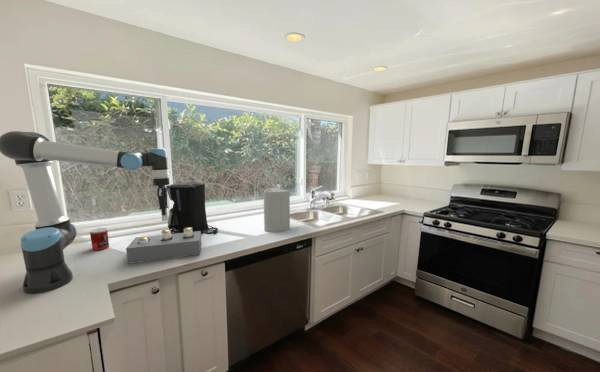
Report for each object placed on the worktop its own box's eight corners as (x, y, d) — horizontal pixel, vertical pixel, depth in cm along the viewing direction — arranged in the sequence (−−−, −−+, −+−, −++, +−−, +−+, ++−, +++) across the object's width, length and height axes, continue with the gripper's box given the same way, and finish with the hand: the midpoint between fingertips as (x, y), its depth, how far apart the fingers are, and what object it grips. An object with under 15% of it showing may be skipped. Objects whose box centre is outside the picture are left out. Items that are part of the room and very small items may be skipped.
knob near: (148, 252, 134) (147, 238, 132) (139, 253, 132) (137, 239, 131) (150, 249, 138) (149, 236, 137) (141, 250, 136) (140, 236, 135)
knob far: (192, 241, 140) (191, 228, 139) (184, 242, 139) (183, 229, 137) (193, 239, 144) (192, 226, 143) (185, 240, 143) (184, 227, 142)
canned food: (100, 251, 140) (97, 232, 138) (88, 250, 142) (86, 231, 140) (112, 246, 148) (110, 228, 146) (101, 245, 149) (99, 227, 147)
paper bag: (256, 228, 179) (255, 190, 174) (271, 223, 190) (271, 187, 185) (275, 234, 167) (274, 193, 162) (290, 229, 178) (290, 190, 173)
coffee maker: (175, 226, 183) (171, 181, 177) (221, 224, 188) (218, 180, 183) (164, 237, 161) (159, 186, 155) (216, 235, 166) (213, 185, 161)
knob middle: (171, 244, 137) (169, 231, 135) (162, 245, 135) (160, 231, 134) (172, 241, 141) (171, 228, 140) (163, 242, 139) (162, 229, 138)
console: (200, 254, 137) (199, 240, 135) (127, 263, 126) (126, 248, 125) (201, 243, 152) (200, 230, 150) (137, 250, 141) (135, 237, 140)
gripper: (166, 178, 127) (170, 223, 131) (170, 175, 139) (174, 216, 143) (149, 179, 125) (154, 224, 129) (155, 176, 137) (159, 217, 141)
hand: (165, 220), depth 136 cm, fingers closed
